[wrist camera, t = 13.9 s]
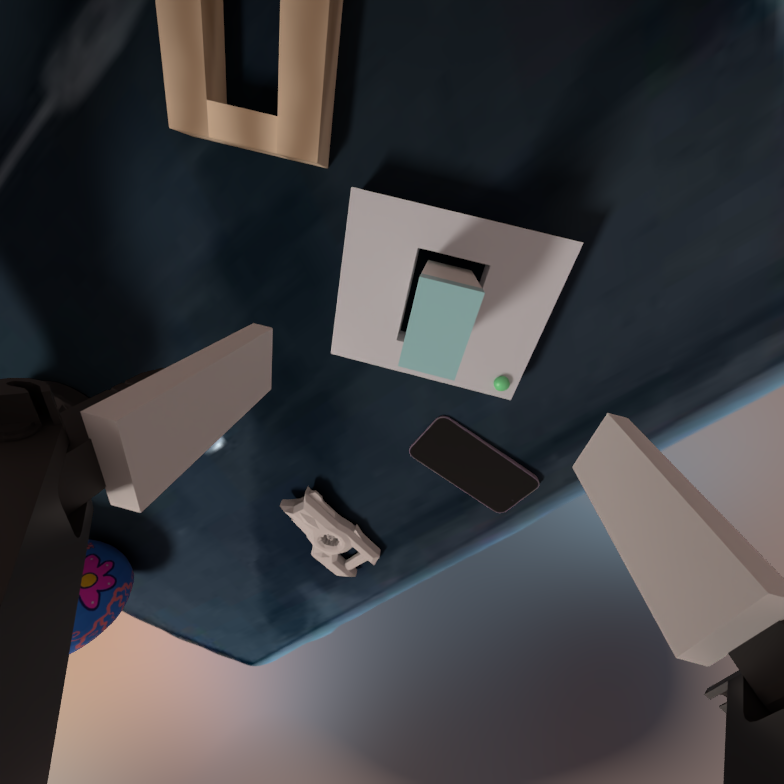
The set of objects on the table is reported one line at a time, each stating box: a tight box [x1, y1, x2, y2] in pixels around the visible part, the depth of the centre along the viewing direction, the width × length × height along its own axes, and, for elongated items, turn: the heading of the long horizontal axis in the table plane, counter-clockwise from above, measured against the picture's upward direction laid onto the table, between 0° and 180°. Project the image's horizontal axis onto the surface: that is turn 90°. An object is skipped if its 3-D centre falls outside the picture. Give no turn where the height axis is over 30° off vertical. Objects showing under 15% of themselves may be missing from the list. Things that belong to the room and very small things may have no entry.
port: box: [331, 187, 583, 400], centre depth 28 cm, size 18×14×3 cm
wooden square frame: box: [155, 0, 343, 168], centre depth 22 cm, size 12×12×2 cm
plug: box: [398, 260, 485, 381], centre depth 25 cm, size 4×6×11 cm, turn 168°
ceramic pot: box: [69, 540, 134, 654], centre depth 54 cm, size 18×18×15 cm
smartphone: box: [409, 416, 539, 513], centre depth 38 cm, size 7×1×15 cm
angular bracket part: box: [280, 487, 381, 577], centre depth 47 cm, size 18×3×10 cm
